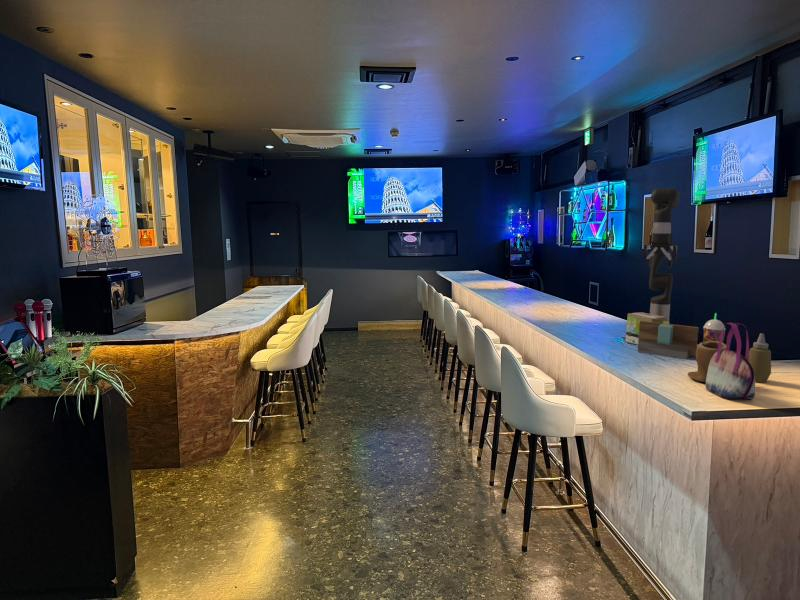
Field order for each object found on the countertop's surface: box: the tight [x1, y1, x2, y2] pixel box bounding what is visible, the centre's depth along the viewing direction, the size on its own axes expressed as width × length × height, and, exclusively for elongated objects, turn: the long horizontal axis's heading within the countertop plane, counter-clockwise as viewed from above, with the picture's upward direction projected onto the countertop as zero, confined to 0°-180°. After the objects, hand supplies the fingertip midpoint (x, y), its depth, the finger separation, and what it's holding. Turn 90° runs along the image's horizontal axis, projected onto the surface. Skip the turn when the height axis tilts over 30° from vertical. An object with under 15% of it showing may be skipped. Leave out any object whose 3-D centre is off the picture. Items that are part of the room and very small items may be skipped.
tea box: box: [625, 311, 667, 346], centre depth 255 cm, size 15×10×15 cm, turn 25°
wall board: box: [637, 321, 699, 360], centre depth 237 cm, size 10×24×13 cm, turn 51°
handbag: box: [705, 322, 756, 400], centre depth 179 cm, size 21×10×25 cm, turn 2°
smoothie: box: [702, 312, 726, 343], centre depth 229 cm, size 8×8×20 cm
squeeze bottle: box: [749, 333, 772, 383], centre depth 195 cm, size 8×8×18 cm
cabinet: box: [657, 321, 674, 345], centre depth 236 cm, size 6×5×12 cm
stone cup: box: [687, 341, 726, 383], centre depth 194 cm, size 15×12×15 cm
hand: (658, 267), depth 243 cm, fingers open, 8 cm apart
